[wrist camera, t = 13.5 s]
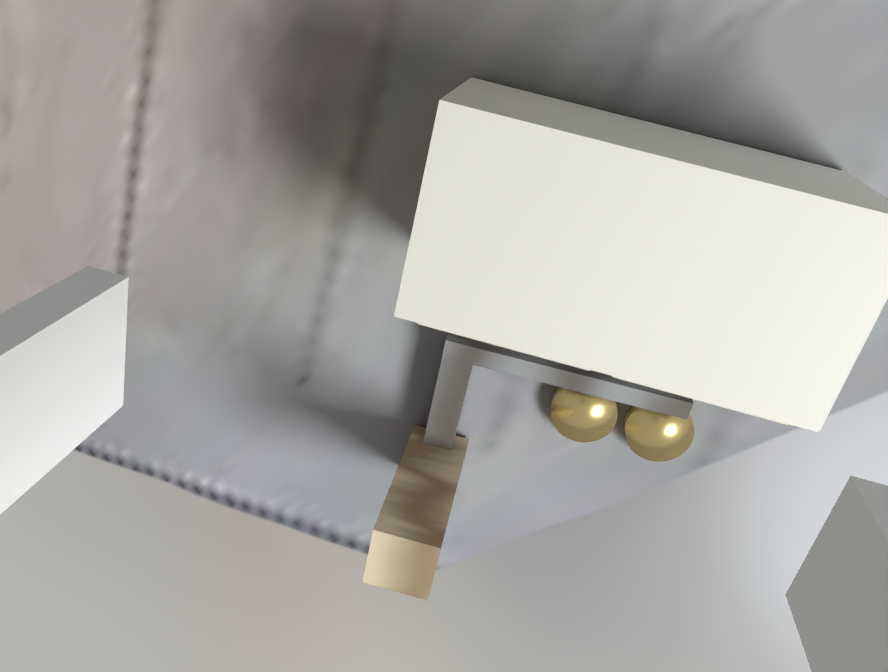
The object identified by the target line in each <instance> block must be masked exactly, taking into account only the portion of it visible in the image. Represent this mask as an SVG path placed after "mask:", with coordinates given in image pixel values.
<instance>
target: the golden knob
mask: <svg viewBox="0 0 888 672" xmlns="http://www.w3.org/2000/svg"><path fill="white" fill-rule="evenodd" d="M617 417H618V410H617V402H616V401H612V400H608V399H604V398H601V397H597V396H593V395H589V394H585V393H581V392H577V391H573V390H570V389H566V388H562V387H558V388H557V389H556V391H555V392H554V394H553V397H552V402H551V419H552V422H553V424H554V426H555V428H556V429H557V430H558V431H559V432H560V433H561V434H562V435H563V436H565V437H567V438H569V439H571V440H574V441H578V442H592V441H596V440H599V439H601V438H603V437H605V436H606V435H607V434H609V433H610V432H611V430H612V429H613V428H614V426H615V424H616V421H617Z"/></svg>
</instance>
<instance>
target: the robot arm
mask: <svg viewBox="0 0 888 672" xmlns="http://www.w3.org/2000/svg"><path fill="white" fill-rule="evenodd" d="M127 301H128V277H126V276H123V275H119V274H115V273H112V272H108V271H105V270H101V269H97V268H94V267H90V266H88V267H86V268H85V269H83V270H81V271H79V272H77V273H75V274H73V275H72V276H70V277H68V278H66V279H64V280H62V281H61V282H59V283H57V284H55V285H53V286H51V287H49V288H48V289H46V290H44V291H42V292H40V293H38V294H37V295H35V296H33V297H31V298H29V299H27V300H26V301H24V302H22V303H20V304H18V305H16V306H14V307H13V308H11V309H9V310H7V311H5V312H3V313H2V314H0V514H1V513H2V512H3V511H4V510H6V509H7V508H8V507H9V506H10V505H11V504H12V503H13V502H15V501H16V500H17V499H18V498H19V497H20V496H21V495H22V494H24V493H25V492H26V491H27V490H28V489H29V488H30V487H32V486H33V485H34V484H35V483H36V482H37V481H38V480H39V479H41V478H42V477H43V476H44V475H45V474H46V473H47V472H48V471H50V470H51V469H52V468H53V467H54V466H55V465H56V464H57V463H59V462H60V461H61V460H62V459H63V458H64V457H65V456H66V455H68V454H69V453H70V452H71V451H72V450H73V449H74V448H76V447H77V446H78V445H79V444H80V443H81V442H82V441H83V440H85V439H86V438H87V437H88V436H89V435H90V434H91V433H92V432H94V431H95V430H96V429H97V428H98V427H99V426H100V425H101V424H103V423H104V422H105V421H106V420H107V419H108V418H109V417H110V416H112V415H113V414H114V413H115V412H116V411H117V410H118V409H120V408H121V407H122V406H123V393H124V370H125V347H126V324H127ZM786 597H787V600H788V603H789V606H790V609H791V612H792V615H793V618H794V621H795V624H796V627H797V630H798V633H799V635H800V638H801V641H802V644H803V647H804V650H805V653H806V656H807V659H808V662H809V665H810V668H811V671H812V672H888V486H886V485H883V484H879V483H875V482H872V481H868V480H865V479H861V478H857V477H854V476H850V478H849V480H848V482H847V484H846V485H845V487H844V489H843V491H842V493H841V494H840V496H839V498H838V500H837V502H836V503H835V505H834V507H833V509H832V511H831V513H830V514H829V516H828V518H827V520H826V522H825V523H824V525H823V527H822V529H821V531H820V533H819V535H818V537H817V538H816V540H815V542H814V544H813V545H812V547H811V549H810V551H809V553H808V555H807V556H806V558H805V560H804V562H803V564H802V565H801V567H800V569H799V571H798V573H797V575H796V577H795V578H794V580H793V582H792V584H791V586H790V587H789V589H788V591H787V593H786Z"/></svg>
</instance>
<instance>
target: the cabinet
mask: <svg viewBox="0 0 888 672" xmlns="http://www.w3.org/2000/svg"><path fill="white" fill-rule="evenodd" d="M887 298H888V198H886V197H885V196H883V195H881V194H880V193H878V192H877V191H875V190H874V189H872V188H871V187H869V186H868V185H866V184H865V183H863V182H862V181H860V180H859V179H857V178H855V177H854V176H852V175H851V174H849V173H848V172H845V171H841V170H837V169H833V168H829V167H825V166H821V165H817V164H813V163H809V162H806V161H802V160H798V159H794V158H790V157H786V156H782V155H778V154H774V153H770V152H766V151H762V150H758V149H754V148H750V147H746V146H742V145H738V144H734V143H730V142H726V141H722V140H718V139H714V138H710V137H706V136H702V135H698V134H694V133H691V132H687V131H683V130H679V129H675V128H671V127H667V126H663V125H659V124H655V123H651V122H647V121H643V120H639V119H635V118H631V117H627V116H623V115H619V114H615V113H611V112H607V111H603V110H599V109H595V108H591V107H587V106H583V105H579V104H576V103H572V102H568V101H564V100H560V99H556V98H552V97H548V96H544V95H540V94H536V93H532V92H528V91H524V90H520V89H516V88H512V87H508V86H504V85H500V84H496V83H492V82H488V81H484V80H480V79H476V78H472V77H471V78H469V79H468V80H466V81H465V82H464V83H462V84H461V85H459V86H458V87H457V88H455V89H454V90H452V91H451V92H450V93H448V94H447V95H445V96H444V97H442V98H441V99H440V100H439V104H438V109H437V113H436V118H435V123H434V128H433V132H432V137H431V142H430V147H429V152H428V156H427V161H426V166H425V171H424V175H423V180H422V185H421V190H420V194H419V199H418V204H417V209H416V214H415V218H414V223H413V228H412V233H411V237H410V242H409V247H408V252H407V256H406V261H405V266H404V271H403V276H402V280H401V285H400V290H399V295H398V299H397V304H396V309H395V314H394V317H398V318H402V319H405V320H409V321H413V322H416V323H417V324H419V325H423V326H427V327H430V328H434V329H438V330H441V331H445V332H449V333H452V334H456V335H460V336H463V337H467V338H471V339H474V340H478V341H482V342H485V343H489V344H493V345H496V346H500V347H504V348H507V349H511V350H515V351H518V352H522V353H526V354H529V355H533V356H537V357H540V358H544V359H548V360H551V361H555V362H559V363H562V364H566V365H570V366H573V367H577V368H581V369H584V370H588V371H590V370H593V371H596V372H600V373H604V374H607V375H611V376H612V377H614V378H617V379H621V380H625V381H628V382H632V383H636V384H639V385H643V386H647V387H650V388H654V389H658V390H661V391H665V392H669V393H672V394H676V395H680V396H683V397H687V398H691V399H694V400H698V401H702V402H705V403H709V404H713V405H716V406H720V407H724V408H727V409H731V410H735V411H738V412H742V413H746V414H750V415H753V416H757V417H761V418H764V419H768V420H772V421H775V422H779V423H783V424H786V425H795V426H798V427H802V428H806V429H810V430H813V431H817V432H819V431H820V429H821V427H822V425H823V424H824V422H825V420H826V418H827V416H828V414H829V412H830V410H831V408H832V406H833V404H834V402H835V400H836V398H837V396H838V394H839V392H840V390H841V388H842V386H843V384H844V382H845V381H846V379H847V377H848V375H849V373H850V371H851V369H852V367H853V365H854V363H855V361H856V359H857V357H858V355H859V353H860V351H861V349H862V347H863V345H864V343H865V341H866V339H867V338H868V336H869V334H870V332H871V330H872V328H873V326H874V324H875V322H876V320H877V318H878V316H879V314H880V312H881V310H882V308H883V306H884V304H885V302H886V300H887Z"/></svg>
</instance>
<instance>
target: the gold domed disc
mask: <svg viewBox="0 0 888 672" xmlns="http://www.w3.org/2000/svg"><path fill="white" fill-rule="evenodd" d="M624 428H625V436H626V440H627V443H628V445H629V447H630V448H631V449H632V450H633V452H635V453H636V454H637V455H639V456H640V457H642V458H644V459H647V460H651V461H667V460H671V459H674V458H676V457H678V456H680V455H681V454H683V453H684V452H685V451H686V450H687V449H688V448H689V446H690V445H691V443H692V440H693V436H694V428H693V423H692V420H691V416H690V414H689V415H688V418H687V420H686V419H682V418H678V417H674V416H670V415H667V414H663V413H659V412H655V411H651V410H647V409H643V408H639V407H636V406H632V407H631V408H630V409H629V411H628V412H627V414H626V417H625V421H624Z"/></svg>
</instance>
